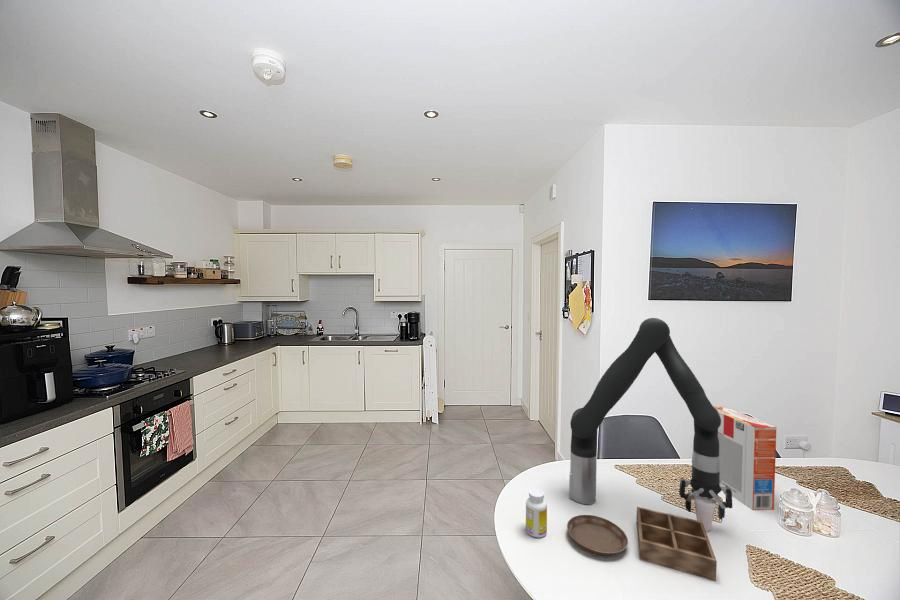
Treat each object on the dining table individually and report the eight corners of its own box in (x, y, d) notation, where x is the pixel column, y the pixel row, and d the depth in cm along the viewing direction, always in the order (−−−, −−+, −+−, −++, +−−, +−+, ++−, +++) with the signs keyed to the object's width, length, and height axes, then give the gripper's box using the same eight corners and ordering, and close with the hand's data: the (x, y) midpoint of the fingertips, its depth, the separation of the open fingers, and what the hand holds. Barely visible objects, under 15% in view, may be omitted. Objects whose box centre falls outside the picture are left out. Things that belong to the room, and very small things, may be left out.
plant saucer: (626, 532, 118) (626, 522, 118) (629, 570, 102) (629, 559, 102) (569, 517, 125) (570, 509, 125) (563, 551, 109) (563, 541, 109)
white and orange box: (773, 509, 130) (776, 427, 129) (752, 510, 130) (754, 427, 129) (722, 476, 153) (724, 406, 152) (704, 477, 153) (705, 406, 152)
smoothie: (720, 535, 116) (721, 492, 116) (697, 532, 117) (698, 490, 117) (710, 522, 122) (711, 482, 122) (689, 520, 124) (690, 479, 123)
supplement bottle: (547, 527, 119) (548, 489, 119) (546, 540, 113) (546, 500, 113) (527, 523, 122) (527, 485, 121) (524, 535, 115) (524, 496, 115)
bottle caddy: (639, 559, 106) (639, 540, 105) (636, 522, 122) (636, 506, 122) (716, 580, 98) (716, 561, 98) (701, 538, 115) (702, 521, 114)
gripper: (682, 466, 119) (681, 515, 119) (735, 476, 113) (734, 527, 113) (678, 457, 126) (677, 503, 126) (729, 465, 120) (727, 513, 120)
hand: (704, 514), depth 120 cm, fingers open, 8 cm apart
